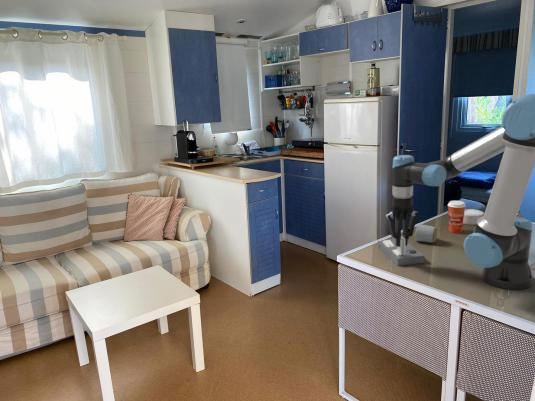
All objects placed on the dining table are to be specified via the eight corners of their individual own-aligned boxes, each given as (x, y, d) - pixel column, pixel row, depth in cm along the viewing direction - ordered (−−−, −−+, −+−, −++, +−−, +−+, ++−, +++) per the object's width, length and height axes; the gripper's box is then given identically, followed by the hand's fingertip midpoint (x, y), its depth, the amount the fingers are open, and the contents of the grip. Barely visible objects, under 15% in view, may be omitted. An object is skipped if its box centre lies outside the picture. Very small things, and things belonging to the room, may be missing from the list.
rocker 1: (394, 248, 174) (394, 246, 173) (387, 249, 173) (387, 246, 173) (389, 241, 178) (390, 239, 178) (382, 242, 178) (382, 240, 177)
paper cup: (445, 232, 193) (446, 204, 189) (447, 227, 199) (449, 199, 196) (463, 234, 189) (465, 205, 185) (465, 229, 195) (467, 201, 191)
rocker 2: (405, 256, 164) (405, 254, 164) (397, 257, 164) (397, 255, 163) (399, 251, 169) (400, 248, 168) (392, 252, 168) (392, 249, 168)
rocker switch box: (424, 262, 163) (424, 255, 162) (397, 265, 162) (397, 258, 161) (401, 244, 182) (402, 238, 181) (378, 247, 181) (378, 240, 180)
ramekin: (466, 217, 212) (467, 207, 211) (487, 222, 203) (488, 212, 202) (453, 222, 207) (453, 211, 206) (474, 227, 198) (474, 216, 196)
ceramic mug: (434, 245, 179) (435, 228, 177) (414, 243, 183) (415, 226, 181) (438, 238, 188) (439, 221, 186) (419, 235, 192) (420, 220, 190)
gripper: (414, 192, 162) (413, 248, 168) (381, 195, 160) (381, 252, 166) (424, 196, 155) (422, 255, 161) (389, 200, 153) (389, 259, 159)
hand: (401, 253), depth 164 cm, fingers closed
